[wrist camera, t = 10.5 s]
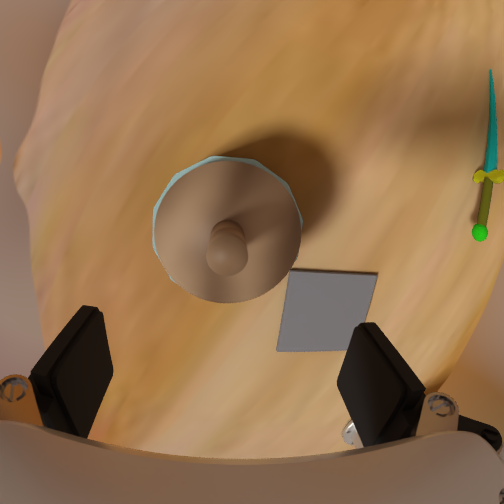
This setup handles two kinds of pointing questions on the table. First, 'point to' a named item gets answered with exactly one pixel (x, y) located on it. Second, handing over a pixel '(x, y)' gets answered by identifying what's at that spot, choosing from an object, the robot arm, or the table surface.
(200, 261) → the lid
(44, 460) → the robot arm
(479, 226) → the toy sword
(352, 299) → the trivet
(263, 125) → the table surface
